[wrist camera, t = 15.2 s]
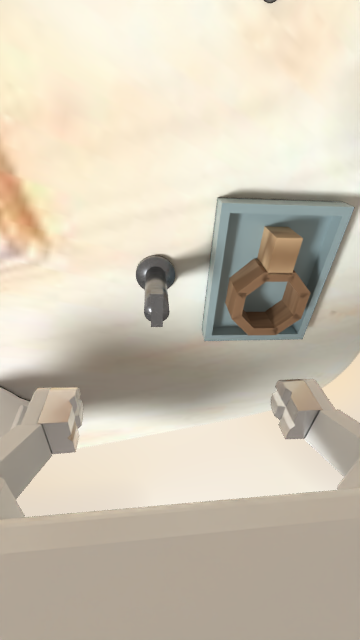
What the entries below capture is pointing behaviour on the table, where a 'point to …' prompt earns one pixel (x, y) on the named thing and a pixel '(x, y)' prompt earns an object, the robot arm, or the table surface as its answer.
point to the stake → (155, 287)
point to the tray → (243, 246)
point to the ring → (269, 267)
